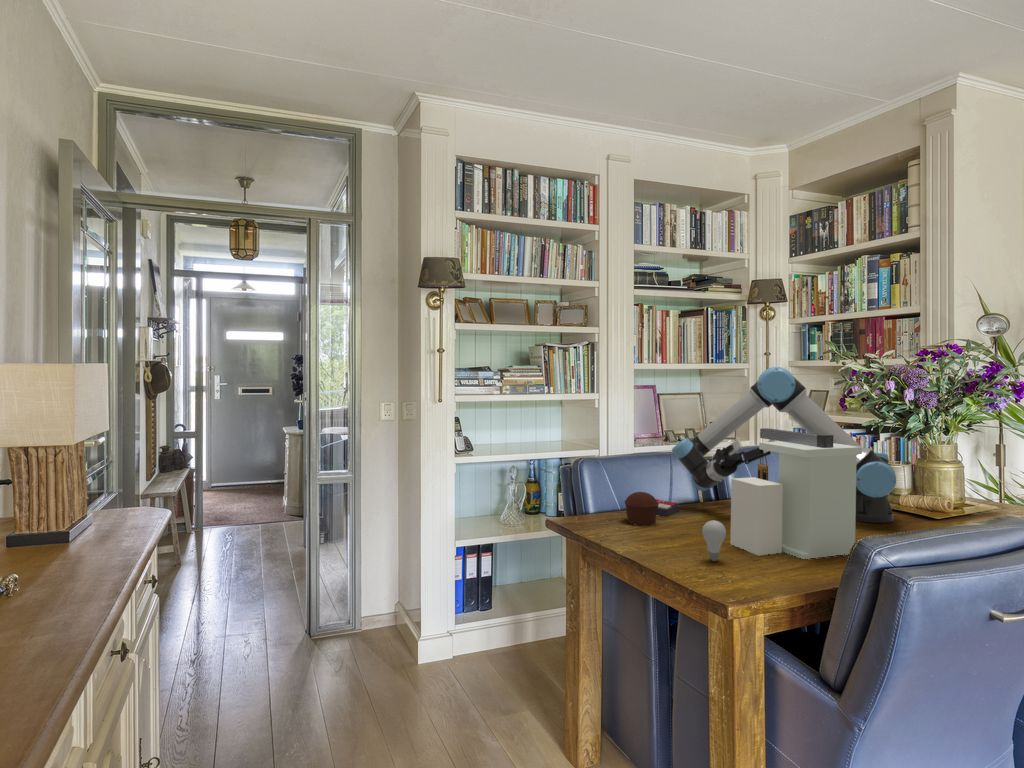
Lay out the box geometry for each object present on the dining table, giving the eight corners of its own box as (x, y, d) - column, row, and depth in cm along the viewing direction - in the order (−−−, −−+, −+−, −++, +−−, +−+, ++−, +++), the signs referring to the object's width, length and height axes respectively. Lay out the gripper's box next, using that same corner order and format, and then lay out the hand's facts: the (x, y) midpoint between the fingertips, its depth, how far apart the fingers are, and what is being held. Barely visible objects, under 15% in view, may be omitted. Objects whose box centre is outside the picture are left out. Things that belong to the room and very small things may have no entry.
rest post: (730, 544, 188) (731, 478, 188) (753, 542, 191) (753, 477, 190) (758, 555, 177) (759, 485, 176) (781, 553, 179) (782, 484, 179)
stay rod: (759, 438, 202) (759, 427, 202) (768, 437, 203) (768, 427, 203) (823, 447, 177) (823, 435, 177) (833, 447, 178) (833, 435, 178)
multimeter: (789, 501, 249) (789, 450, 249) (762, 500, 251) (762, 450, 251) (781, 494, 264) (781, 446, 263) (755, 493, 266) (756, 445, 265)
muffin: (665, 525, 211) (665, 495, 211) (634, 527, 208) (635, 497, 208) (647, 517, 222) (647, 488, 222) (618, 519, 219) (618, 490, 219)
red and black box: (667, 507, 223) (628, 500, 231) (666, 520, 223) (627, 511, 232) (679, 502, 231) (641, 495, 240) (678, 514, 232) (640, 506, 241)
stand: (758, 542, 190) (759, 442, 189) (811, 537, 197) (813, 440, 196) (803, 560, 173) (804, 449, 172) (860, 553, 179) (862, 447, 179)
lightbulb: (698, 558, 175) (698, 518, 174) (720, 557, 175) (720, 517, 175) (707, 565, 168) (707, 523, 168) (729, 564, 169) (730, 523, 169)
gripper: (755, 475, 224) (793, 451, 206) (694, 479, 216) (728, 454, 199) (748, 455, 227) (785, 430, 210) (687, 458, 220) (721, 432, 202)
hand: (758, 442), depth 204 cm, fingers open, 13 cm apart
